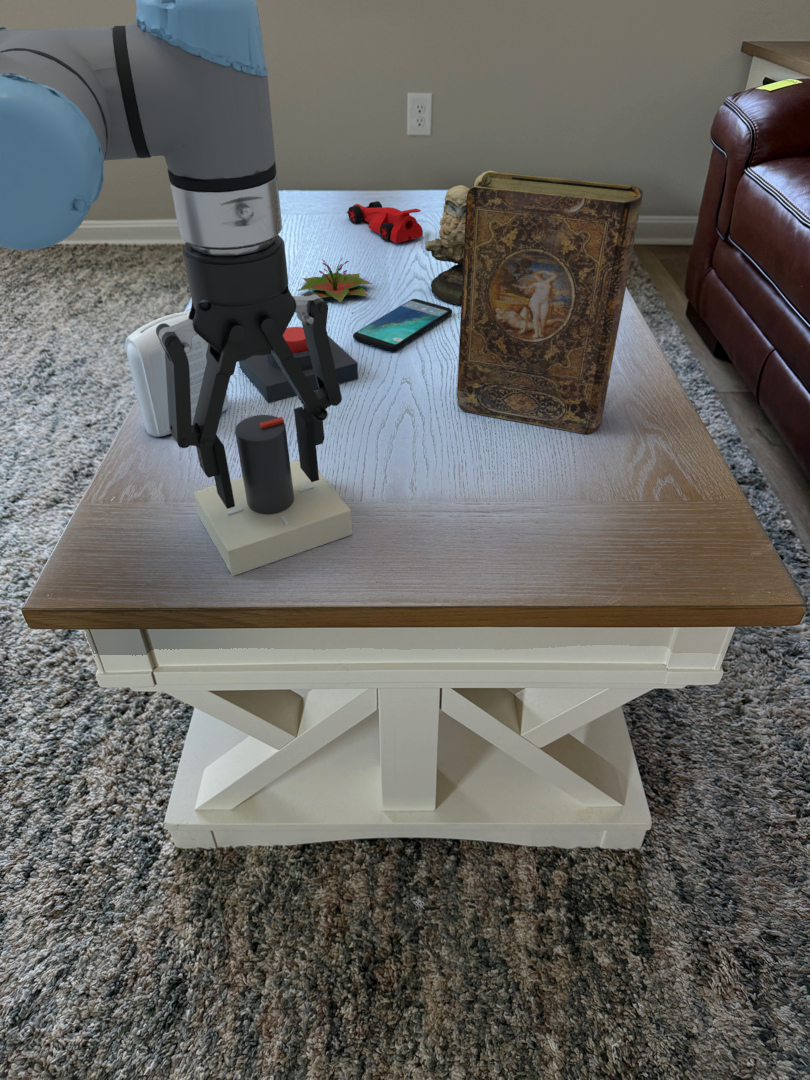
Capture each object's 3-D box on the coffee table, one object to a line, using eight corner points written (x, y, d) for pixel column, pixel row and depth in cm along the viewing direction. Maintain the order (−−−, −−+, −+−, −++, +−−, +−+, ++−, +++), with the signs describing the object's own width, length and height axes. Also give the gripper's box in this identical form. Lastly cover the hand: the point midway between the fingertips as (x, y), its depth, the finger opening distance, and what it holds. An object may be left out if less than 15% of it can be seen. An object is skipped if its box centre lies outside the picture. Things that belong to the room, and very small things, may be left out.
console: (232, 576, 70) (227, 550, 68) (198, 516, 77) (192, 490, 75) (352, 534, 75) (351, 508, 73) (310, 480, 81) (307, 455, 79)
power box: (268, 402, 94) (264, 372, 91) (239, 368, 100) (235, 339, 98) (358, 378, 98) (357, 349, 95) (325, 346, 105) (322, 318, 102)
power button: (286, 357, 95) (285, 344, 94) (274, 344, 97) (272, 331, 96) (317, 349, 96) (315, 336, 95) (304, 337, 99) (302, 324, 98)
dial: (257, 520, 72) (244, 443, 66) (240, 494, 75) (227, 419, 69) (301, 505, 73) (292, 429, 68) (283, 481, 76) (273, 406, 71)
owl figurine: (419, 306, 114) (420, 182, 103) (429, 275, 123) (431, 158, 112) (544, 313, 112) (558, 188, 101) (545, 281, 121) (558, 162, 110)
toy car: (370, 212, 147) (369, 183, 143) (423, 239, 135) (423, 209, 132) (342, 218, 144) (340, 189, 141) (394, 246, 133) (394, 216, 130)
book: (604, 412, 92) (646, 186, 75) (596, 436, 88) (638, 204, 71) (469, 388, 96) (481, 170, 80) (456, 410, 92) (465, 186, 76)
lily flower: (299, 311, 113) (296, 280, 110) (292, 279, 122) (289, 249, 119) (381, 303, 115) (380, 273, 112) (368, 272, 124) (367, 243, 121)
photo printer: (215, 396, 95) (197, 297, 87) (235, 409, 92) (219, 309, 84) (138, 428, 89) (112, 326, 81) (158, 443, 87) (133, 339, 79)
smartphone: (454, 308, 112) (393, 348, 102) (454, 313, 112) (393, 353, 103) (413, 297, 115) (350, 334, 105) (413, 302, 115) (350, 339, 106)
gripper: (104, 282, 52) (172, 544, 67) (378, 229, 59) (384, 475, 74) (80, 246, 57) (148, 497, 72) (336, 202, 64) (350, 437, 79)
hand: (268, 486), depth 73 cm, fingers open, 8 cm apart
